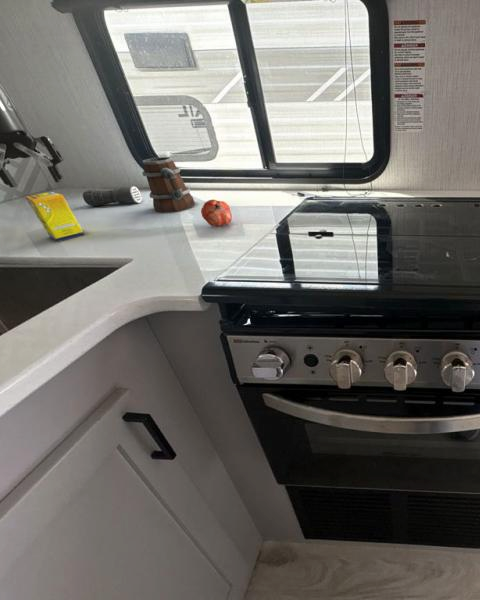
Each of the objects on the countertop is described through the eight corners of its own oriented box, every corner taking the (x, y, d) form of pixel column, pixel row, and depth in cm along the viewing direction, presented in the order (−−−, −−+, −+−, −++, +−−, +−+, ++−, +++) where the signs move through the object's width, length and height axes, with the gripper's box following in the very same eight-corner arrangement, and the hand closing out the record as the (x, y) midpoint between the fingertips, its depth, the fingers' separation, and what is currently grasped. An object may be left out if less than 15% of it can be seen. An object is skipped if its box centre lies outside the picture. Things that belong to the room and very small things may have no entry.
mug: (150, 208, 110) (129, 160, 102) (188, 200, 117) (172, 154, 109) (166, 217, 101) (144, 165, 93) (206, 208, 108) (190, 159, 100)
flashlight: (86, 208, 111) (77, 192, 108) (95, 204, 116) (87, 188, 113) (136, 204, 114) (129, 188, 111) (143, 200, 118) (136, 184, 115)
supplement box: (49, 237, 88) (23, 196, 82) (77, 230, 93) (54, 191, 87) (57, 242, 86) (30, 199, 80) (85, 234, 90) (62, 193, 84)
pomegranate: (205, 233, 95) (202, 220, 86) (200, 209, 95) (196, 193, 86) (234, 231, 98) (233, 218, 89) (228, 207, 99) (228, 192, 90)
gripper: (39, 107, 79) (76, 177, 87) (-45, 110, 73) (4, 185, 82) (28, 108, 73) (69, 183, 82) (-64, 111, 67) (-9, 191, 76)
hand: (36, 184), depth 82 cm, fingers open, 8 cm apart
